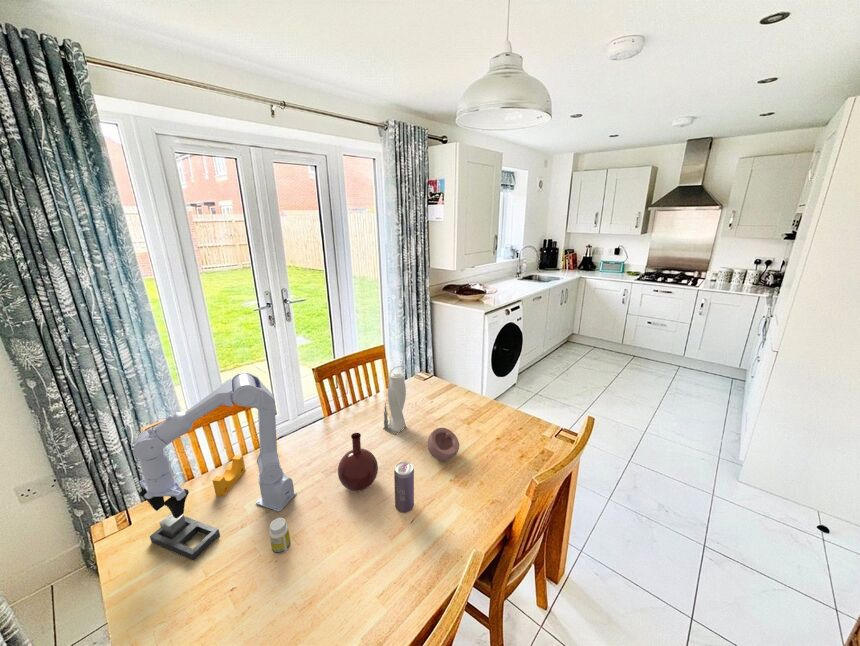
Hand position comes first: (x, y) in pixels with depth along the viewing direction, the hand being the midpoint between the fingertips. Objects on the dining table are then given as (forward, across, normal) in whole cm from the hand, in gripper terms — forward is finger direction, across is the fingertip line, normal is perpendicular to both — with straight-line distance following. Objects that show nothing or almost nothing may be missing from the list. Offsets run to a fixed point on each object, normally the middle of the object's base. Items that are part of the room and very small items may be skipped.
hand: (169, 511), depth 96 cm
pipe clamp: (+9, -3, +20) cm, 22 cm away
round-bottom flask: (+9, +40, +34) cm, 53 cm away
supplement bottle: (+9, +31, +7) cm, 33 cm away
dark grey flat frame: (+9, +4, 0) cm, 9 cm away
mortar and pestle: (+9, +63, +57) cm, 85 cm away
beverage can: (+9, +58, +31) cm, 66 cm away
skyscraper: (+9, +39, +68) cm, 79 cm away
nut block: (+9, 0, 0) cm, 9 cm away
